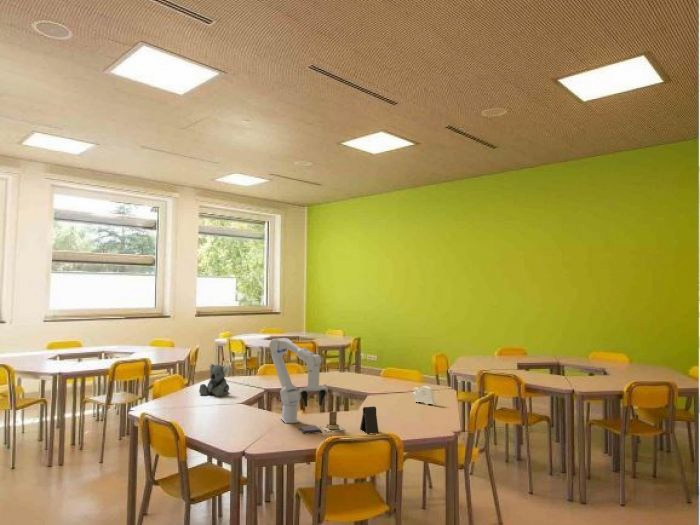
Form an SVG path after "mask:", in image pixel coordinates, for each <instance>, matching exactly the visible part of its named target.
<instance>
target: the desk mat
mask: <svg viewBox="0 0 700 525" xmlns="http://www.w3.org/2000/svg"><path fill="white" fill-rule="evenodd" d="M322 427H323V428H324V427H325V429H326V428H327V425H325V426H322ZM343 430H346V429H345V428H343V427H342V426H341V425H339V429H338V430H330V432H329V433H333V432H332V431H335V432H344V431H343ZM327 431H328V430H327V429H326V431H325V432H326V433H328V432H327Z"/></svg>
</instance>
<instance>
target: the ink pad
mask: <svg viewBox="0 0 700 525" xmlns="http://www.w3.org/2000/svg"><path fill="white" fill-rule="evenodd" d="M298 430H299V431H300V432H301V433H302V434H303V435H305V434H306V433H309V434H316V433H315V432H320V433H322V429H320V428H319V427H318V426H317V425H305V426H298ZM306 435H307V434H306Z"/></svg>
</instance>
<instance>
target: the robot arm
mask: <svg viewBox="0 0 700 525" xmlns="http://www.w3.org/2000/svg"><path fill="white" fill-rule="evenodd" d="M268 346H269V347H268V348H269V350H270V353H271V359H272V363H273V366H274V368H275V371H276V373H277V376H278V379H279V383H280V385H281V389H280V391H279V394H280V401H281V403H282V407H281V409H282V410H281V417H280V418H281V419H283V421H284V422H285V423H284V422H283V421H282V422H283V423H284V424H294V423H295V424H296V423H300V420H298V404H299V402H300V401H301V398H302V400H303V404H304V407H308V397H309V396H308V395H309V392H318V406H321V407H322V404H323V401H324V398H325V396H326V394H327V392H328V386H325V385H323V386H320V367H321V364H322V362H323V358H322V356H321V355H320V354H318V353H316V354H315V353H314V352H313V351H312V352H311V351H310V350H308V348H307V347H302V348H301V347H299V346H298V345H296V344H295V343H294V342H292V341H291V339H289V338H287V337H283V338H281V337H280V338H272V339H271V340H270V342H269V345H268ZM287 351H290V352H292V353H293V354H296V355H297V358H299V359H300V360H302V362H305V363H306V364H305V365H306V366H307V370H308V371H307V386H305V387H299V388H297V386H296V385H294V384H293V383H292V380H291V377H290V375H289V374H290V373H289V371H288V368H287V366H286V362H285V360H284V358H283V357H284V355H285V354H286V352H287ZM281 419H280V420H281Z"/></svg>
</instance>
